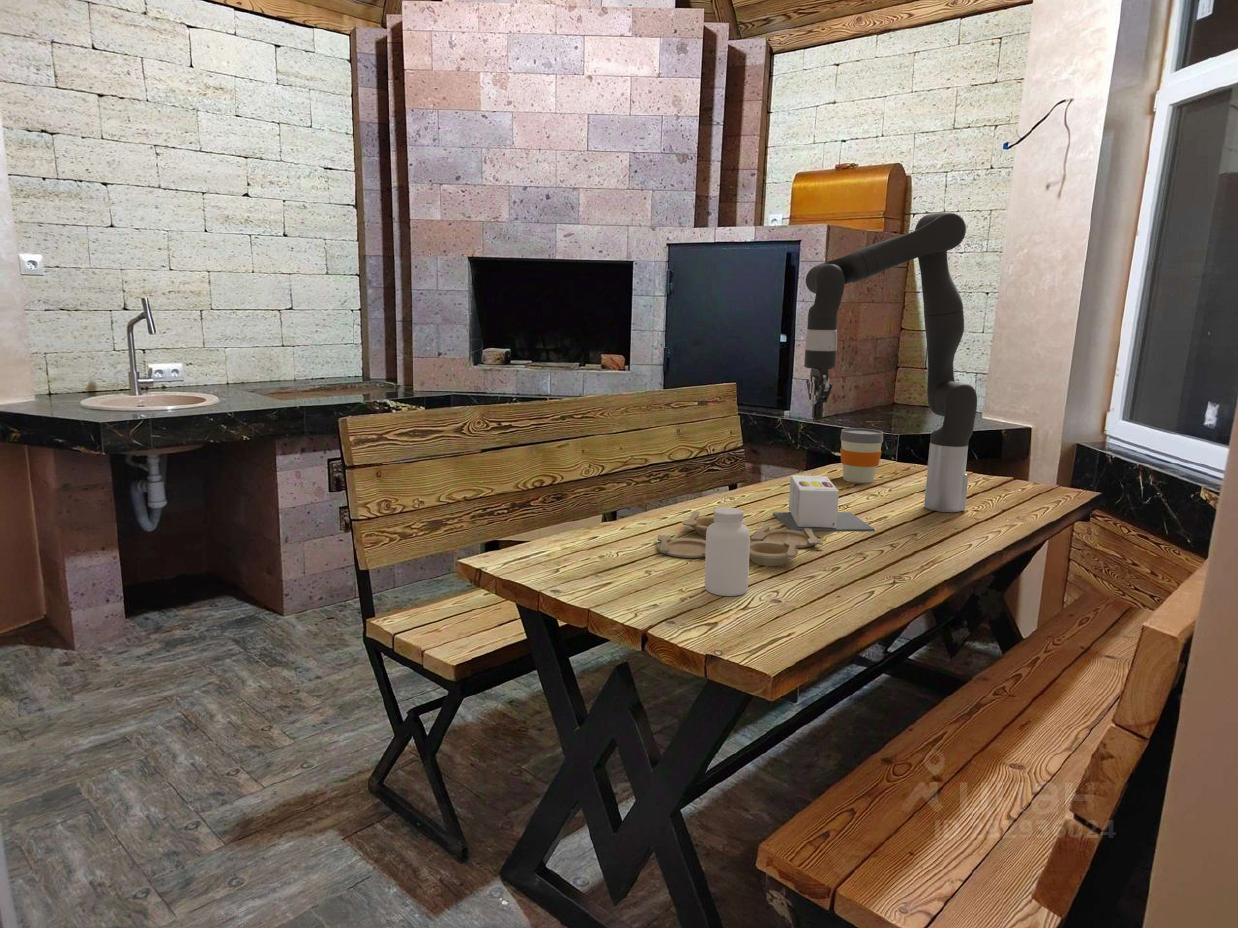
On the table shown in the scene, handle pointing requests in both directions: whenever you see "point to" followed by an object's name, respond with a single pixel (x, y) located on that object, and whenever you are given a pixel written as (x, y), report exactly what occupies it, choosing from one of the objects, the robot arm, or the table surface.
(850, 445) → the reusable coffee cup
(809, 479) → the supplement box
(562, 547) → the table surface
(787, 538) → the tableware set
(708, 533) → the pill bottle
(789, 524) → the mat
